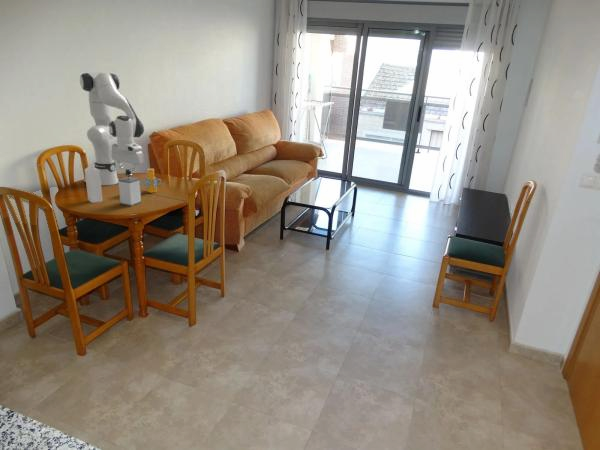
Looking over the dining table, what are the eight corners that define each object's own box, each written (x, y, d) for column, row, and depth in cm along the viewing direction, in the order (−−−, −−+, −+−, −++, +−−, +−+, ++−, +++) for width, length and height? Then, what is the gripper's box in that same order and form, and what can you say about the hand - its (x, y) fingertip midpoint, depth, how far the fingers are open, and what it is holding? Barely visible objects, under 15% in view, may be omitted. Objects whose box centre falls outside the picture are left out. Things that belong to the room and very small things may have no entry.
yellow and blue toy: (154, 195, 262) (153, 172, 257) (139, 193, 264) (137, 170, 259) (164, 190, 274) (163, 168, 268) (149, 188, 275) (148, 166, 270)
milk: (98, 198, 249) (94, 162, 241) (102, 201, 246) (98, 164, 238) (87, 200, 245) (83, 164, 237) (92, 203, 241) (87, 166, 233)
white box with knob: (120, 204, 243) (118, 179, 238) (135, 198, 254) (133, 175, 248) (131, 206, 241) (129, 181, 235) (145, 201, 251) (143, 177, 246)
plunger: (123, 201, 243) (120, 170, 236) (130, 199, 248) (127, 168, 241) (131, 203, 242) (128, 171, 235) (137, 201, 247) (135, 169, 239)
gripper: (107, 144, 233) (109, 168, 238) (136, 149, 227) (138, 173, 232) (115, 142, 239) (117, 166, 244) (144, 147, 232) (146, 171, 237)
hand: (128, 169), depth 238 cm, fingers open, 8 cm apart
